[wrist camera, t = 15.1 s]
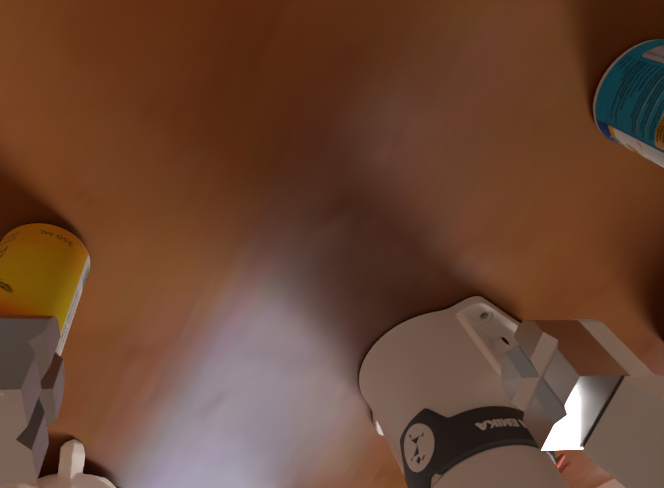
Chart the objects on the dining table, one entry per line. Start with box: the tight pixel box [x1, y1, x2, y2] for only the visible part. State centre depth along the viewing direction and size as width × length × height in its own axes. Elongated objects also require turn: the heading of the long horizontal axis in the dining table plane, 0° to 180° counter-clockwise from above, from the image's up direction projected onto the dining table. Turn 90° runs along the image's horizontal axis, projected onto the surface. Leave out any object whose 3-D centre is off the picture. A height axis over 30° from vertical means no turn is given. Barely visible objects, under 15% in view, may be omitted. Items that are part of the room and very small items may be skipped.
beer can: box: [0, 223, 90, 356], centre depth 33 cm, size 6×6×15 cm
